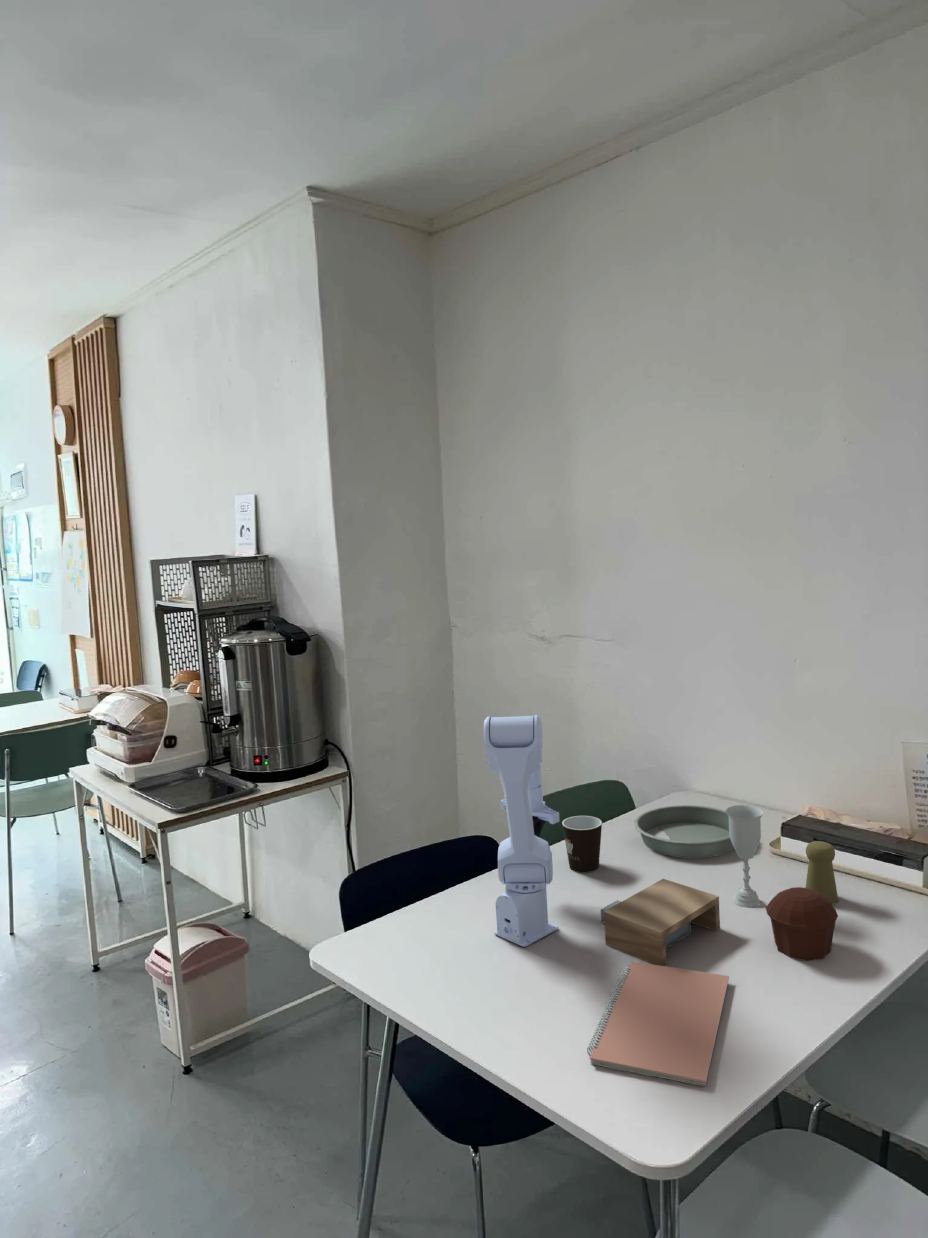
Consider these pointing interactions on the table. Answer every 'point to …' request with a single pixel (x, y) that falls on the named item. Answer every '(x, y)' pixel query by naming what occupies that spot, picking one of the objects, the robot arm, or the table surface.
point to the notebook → (661, 1023)
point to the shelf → (658, 918)
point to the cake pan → (686, 831)
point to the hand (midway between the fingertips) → (531, 849)
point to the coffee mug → (583, 842)
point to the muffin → (802, 923)
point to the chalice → (745, 846)
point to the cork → (821, 870)
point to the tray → (669, 939)
